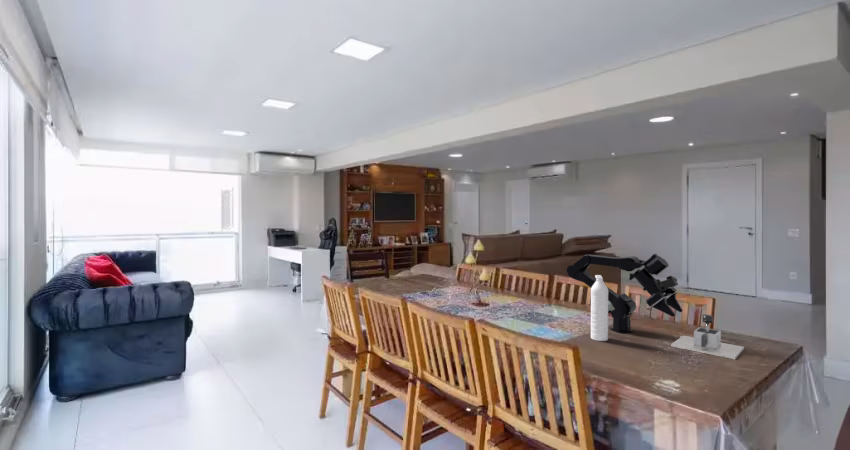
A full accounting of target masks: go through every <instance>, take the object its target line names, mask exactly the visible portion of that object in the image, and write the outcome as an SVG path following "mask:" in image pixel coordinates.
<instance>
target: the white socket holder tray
mask: <svg viewBox="0 0 850 450" xmlns="http://www.w3.org/2000/svg"><path fill="white" fill-rule="evenodd" d="M721 338H722V330H718V329H713V328H712V329H711V328H709V333H706V327H700V326H699V327H698V328H696V329H695V330H694V331H693V336H688V335H682V336H680V337H679V338H678V339H676V340H675V341H674V342H672V343H671V344H670V347H674V348H678V349H682V350H683V349H684V350H688V351H693V352H698V353H703V354H708V355H712V356H717V357H720V358H721V357H722V358H727V359H730V360H736V359H737V358H738V357H739V355H741V354H742V353H743V351H744V350H745V346H742V345H736V344H730V343H725V342H722V341H721Z"/></svg>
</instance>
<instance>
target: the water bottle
mask: <svg viewBox="0 0 850 450" xmlns="http://www.w3.org/2000/svg"><path fill="white" fill-rule="evenodd" d="M594 278H595V279H596V282H595V283H594V285H593V286H592V288H590V338H591V339H592V340H593V341H598V342H606V341H608V340H609V311H608V288H609V287H608V286H607V285H606V284H605V282H604V278H603V276H602V275H601V274H595V275H594ZM607 287H608V288H607Z"/></svg>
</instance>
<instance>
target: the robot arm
mask: <svg viewBox="0 0 850 450" xmlns="http://www.w3.org/2000/svg"><path fill="white" fill-rule="evenodd" d="M591 265H597V266H606V267H614V268H617V269H619V270H622V271H626V272H630V273H629V281H633V280H634V279H635V280H636V281H637V282H638V283H639V284H640V285H641V287H642V290H643V291H644V292H647V294H649V295H650V296H649V297H648V298H647V299H646V300H645V301H646V304H647V305H648V307H652V308H653V309H656V310H658V311H660V312H662V313H664V314H666V315H668V316H671V317H675V316H676V313H675V312H674V310H675V311H677V312H679V313H683V311H684V310H683V309H682V307H681V304H680V303H679V300H678V299H677V291H678V290H677V289H676V288H675V287H676V286H678V285H679V283H678V279H677V278H676V277H675V276H673V275H670V276H669V275H668V276H666V279H665V280H661V279H656V278H655V277H654V275H655V276H658V275H659V274H661V273H662V272H664V271H665V269H667V268H668V267H669V263H668V262H667V260H666V259H665V258H663V257H661V256H660V255H658V254H657V253H654V254H652V255H651V256H650V257H649V258H648V259H647V260H642V259H639V257H638V256H633V255H632V256H631V255H630V256H620V257H615V256H605V255H595V254H592V253H591V254H585V255H583V256H582V257H581V258H580V259H578V260H577V261H576V262H574V263H573V264H570V265H568V266H567V267H566V274H567V276H568V277H569V278H571V279H573V280H574V281H578V282H581V283H584V284H585V285H587V287H589V288H590V289H591V288H592V286H593V285H594V283H595V282H596V279H597V278H595V276H592V274H591V273H590V272H589V270H588V268H589V267H590V266H591ZM640 268H642V269H640ZM633 271H635V272H633ZM607 288H608V301H610V302H611V304H612V306H613V307H614V308H615V309H614V310H613V311H611V312H610V315H611V317H612V327H609V329H610V330H611V331H614V332H617V333H620V334H625V333H631V332H634V330H632V329H631V316H632V314H633V313H634V312H635V311H636V309H637V303H636V301H634V298H631V297H630V296H628V294H627V293H625V292H624V293H622V294H619V293H617V292H615V291H614V290H612V289H611V288H609V287H608V286H607ZM672 309H674V310H672Z"/></svg>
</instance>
